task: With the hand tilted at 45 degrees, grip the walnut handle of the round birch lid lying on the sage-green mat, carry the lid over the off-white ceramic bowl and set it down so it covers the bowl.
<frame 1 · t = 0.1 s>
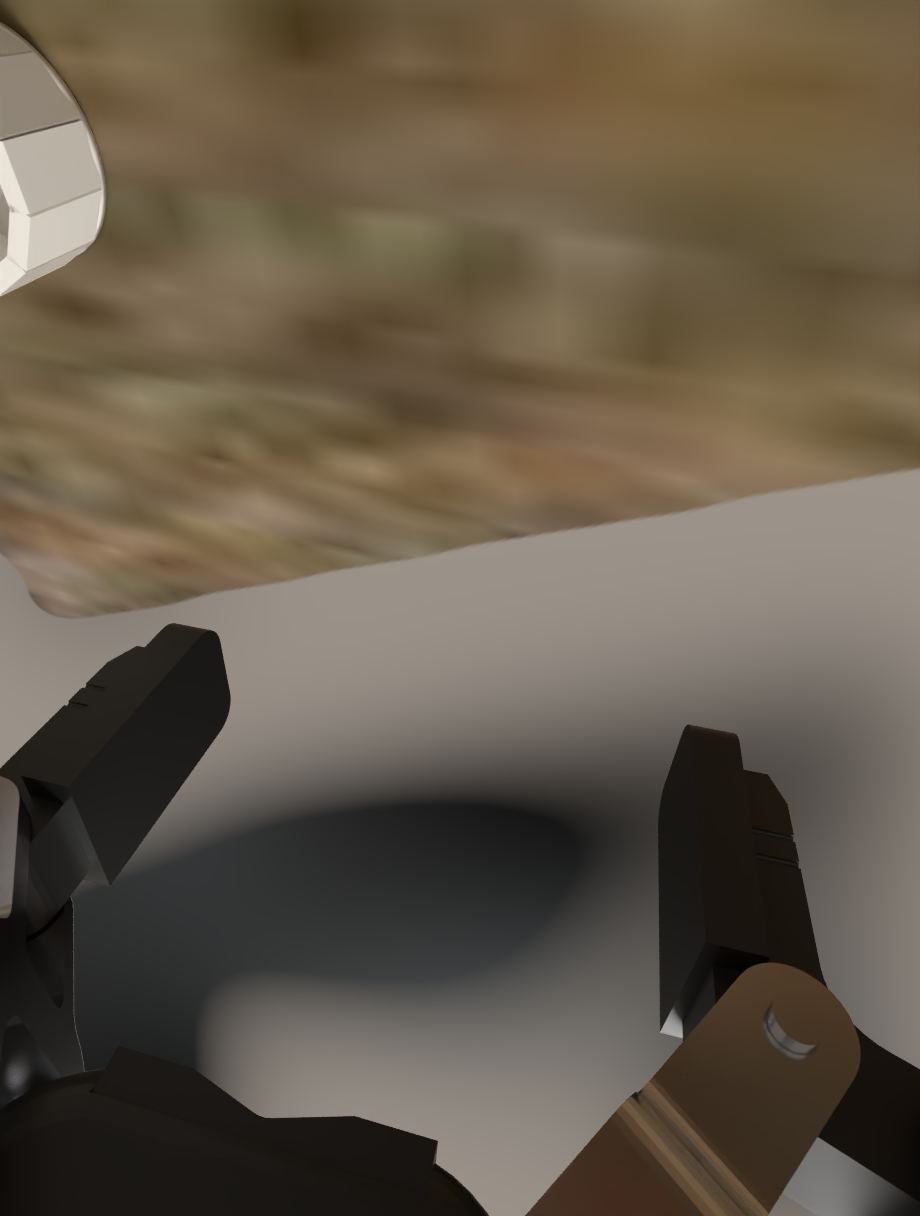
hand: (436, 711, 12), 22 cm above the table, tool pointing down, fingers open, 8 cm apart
bowl: (5, 146, 29), on the table
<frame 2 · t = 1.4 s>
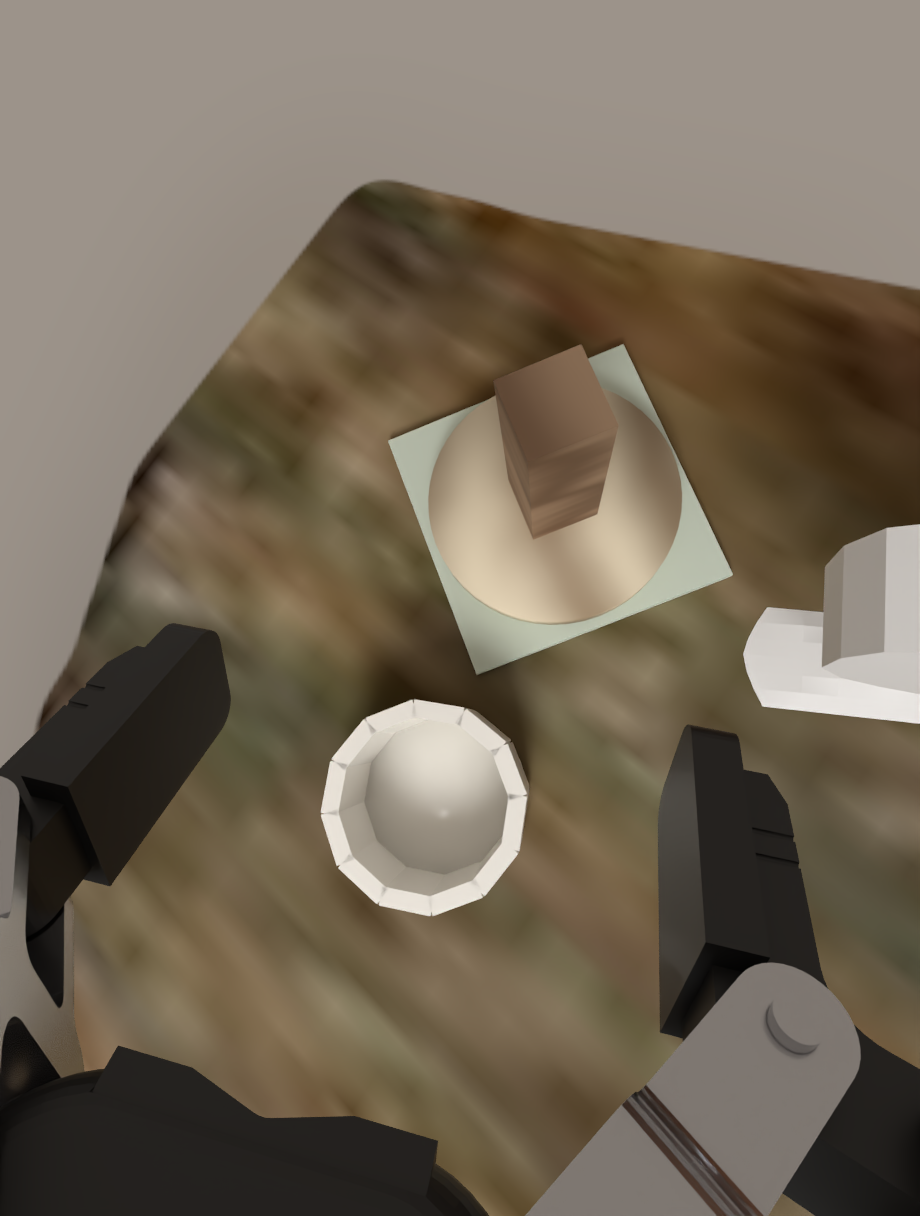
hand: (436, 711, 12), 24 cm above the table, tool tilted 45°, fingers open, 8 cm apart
mat: (551, 507, 37), on the table
bowl: (439, 794, 35), on the table
heart sculpture: (886, 668, 34), on the table
lid: (552, 504, 37), resting on mat
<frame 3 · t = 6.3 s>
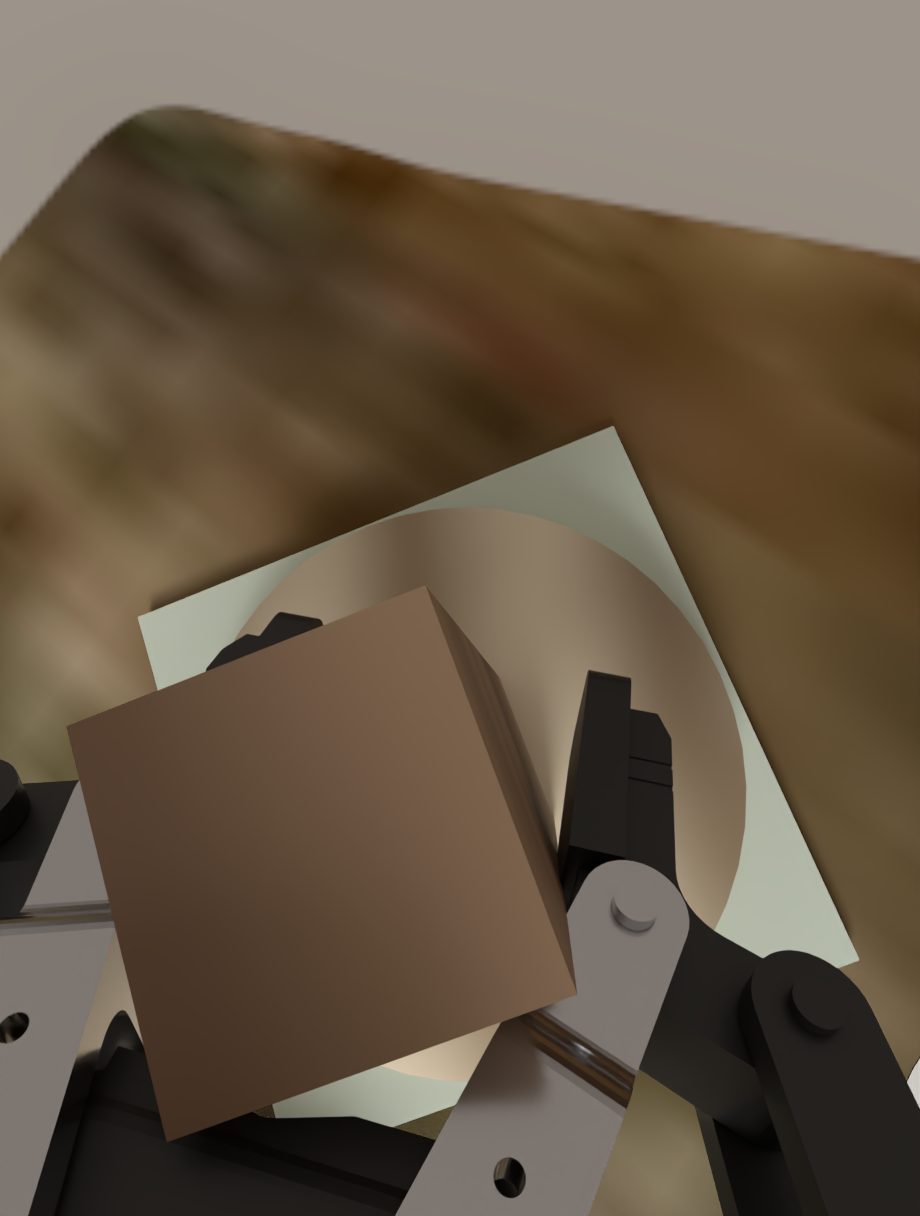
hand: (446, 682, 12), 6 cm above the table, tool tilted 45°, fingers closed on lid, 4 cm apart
mat: (463, 769, 18), on the table
lid: (462, 771, 17), resting on mat, touching gripper
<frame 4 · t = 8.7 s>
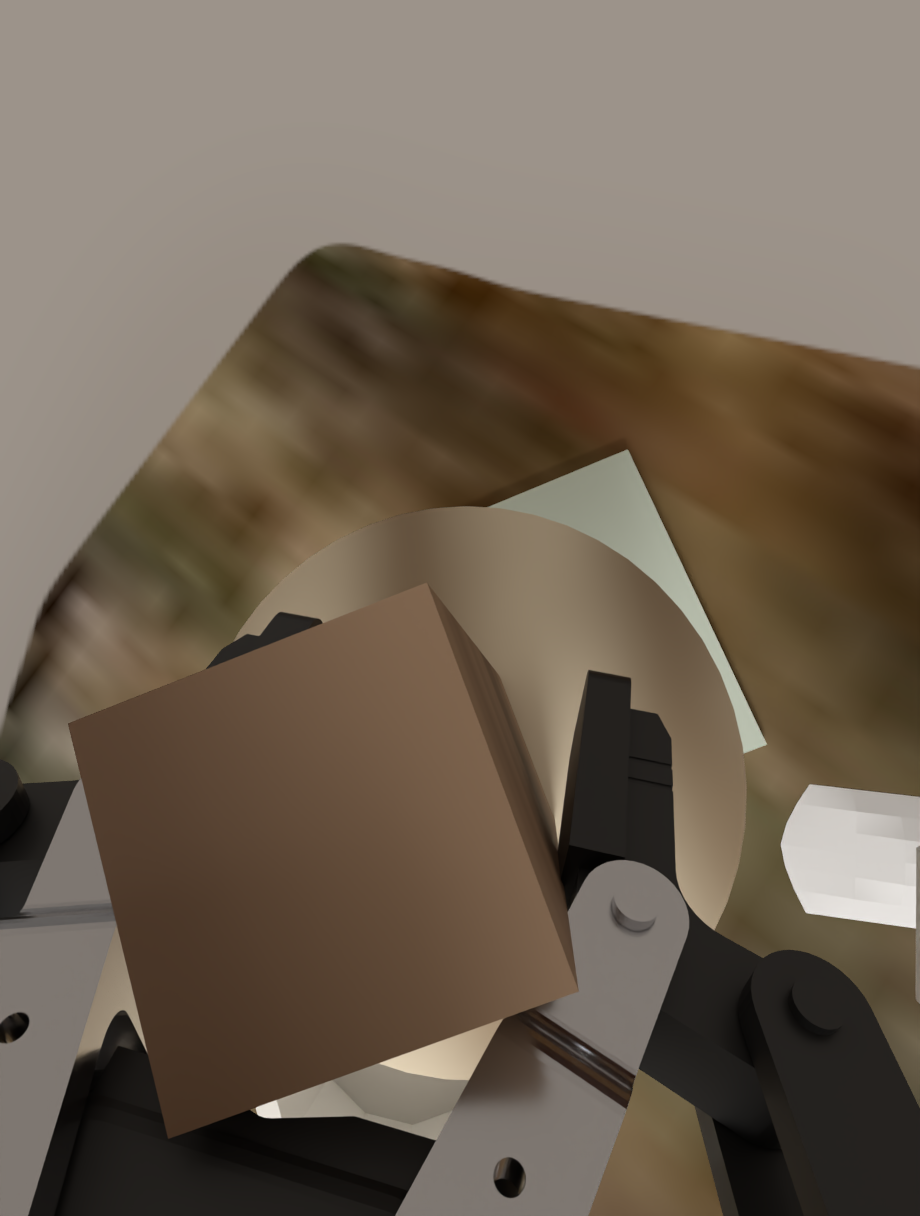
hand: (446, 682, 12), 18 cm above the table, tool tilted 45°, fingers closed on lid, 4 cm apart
mat: (542, 651, 30), on the table
bowl: (406, 1015, 29), on the table
lid: (462, 769, 17), point 13 cm above the table, touching gripper
when the fingers open (12 cm above the table, at t = 11.5 s): lid drops 1 cm, resting on bowl.
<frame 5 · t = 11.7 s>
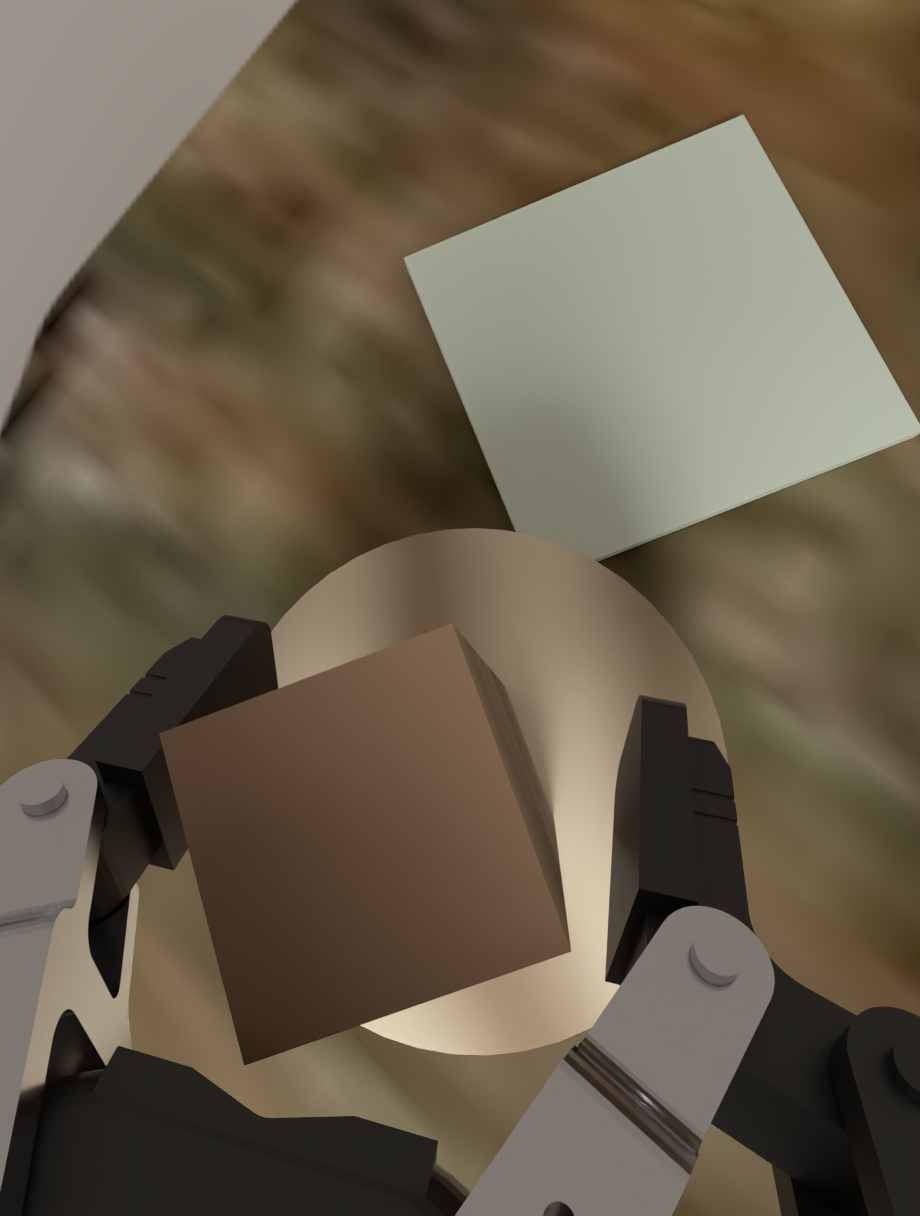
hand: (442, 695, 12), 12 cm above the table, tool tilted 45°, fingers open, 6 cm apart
mat: (643, 345, 26), on the table
lid: (469, 771, 19), point 5 cm above the table, touching bowl
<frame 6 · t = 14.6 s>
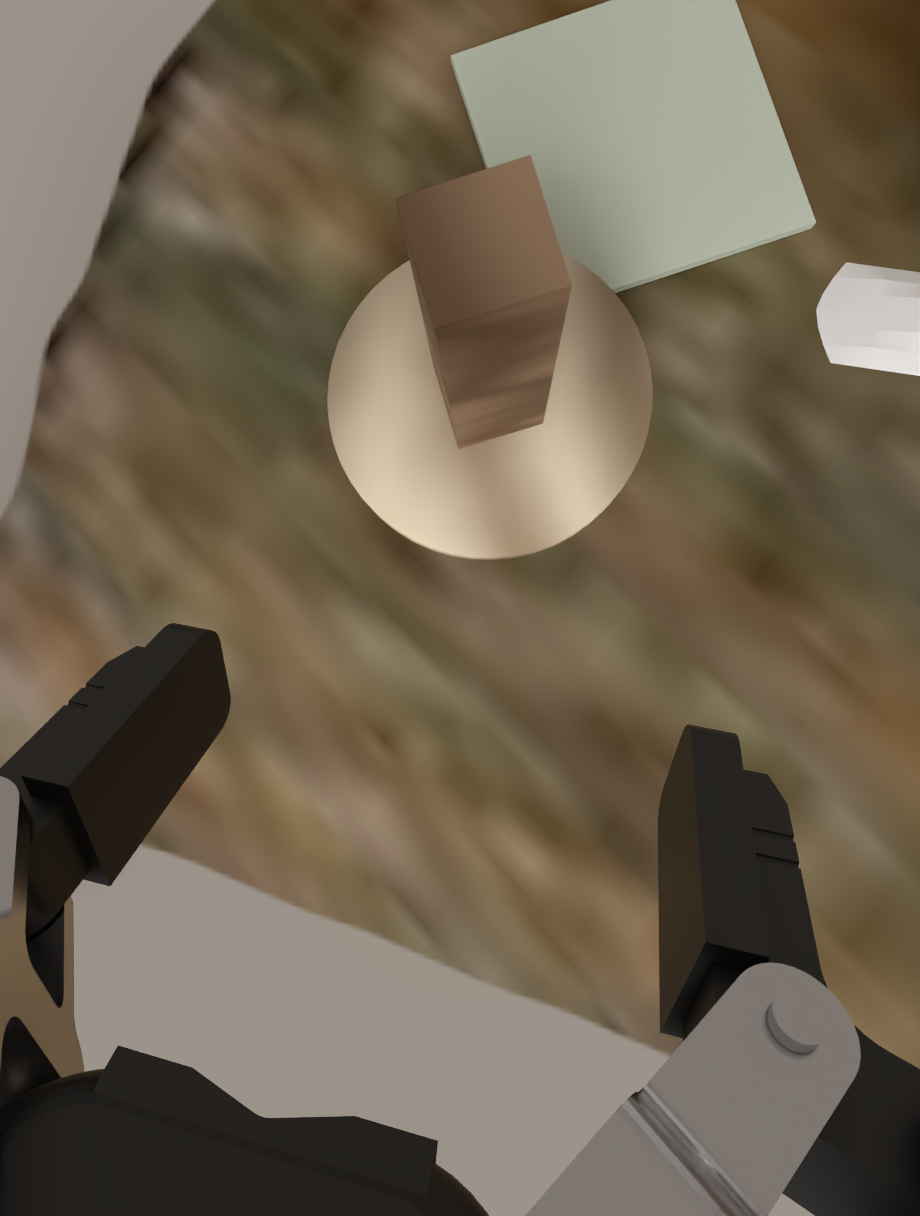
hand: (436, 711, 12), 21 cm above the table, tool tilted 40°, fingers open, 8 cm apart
mat: (627, 144, 34), on the table
lid: (488, 405, 29), point 5 cm above the table, touching bowl
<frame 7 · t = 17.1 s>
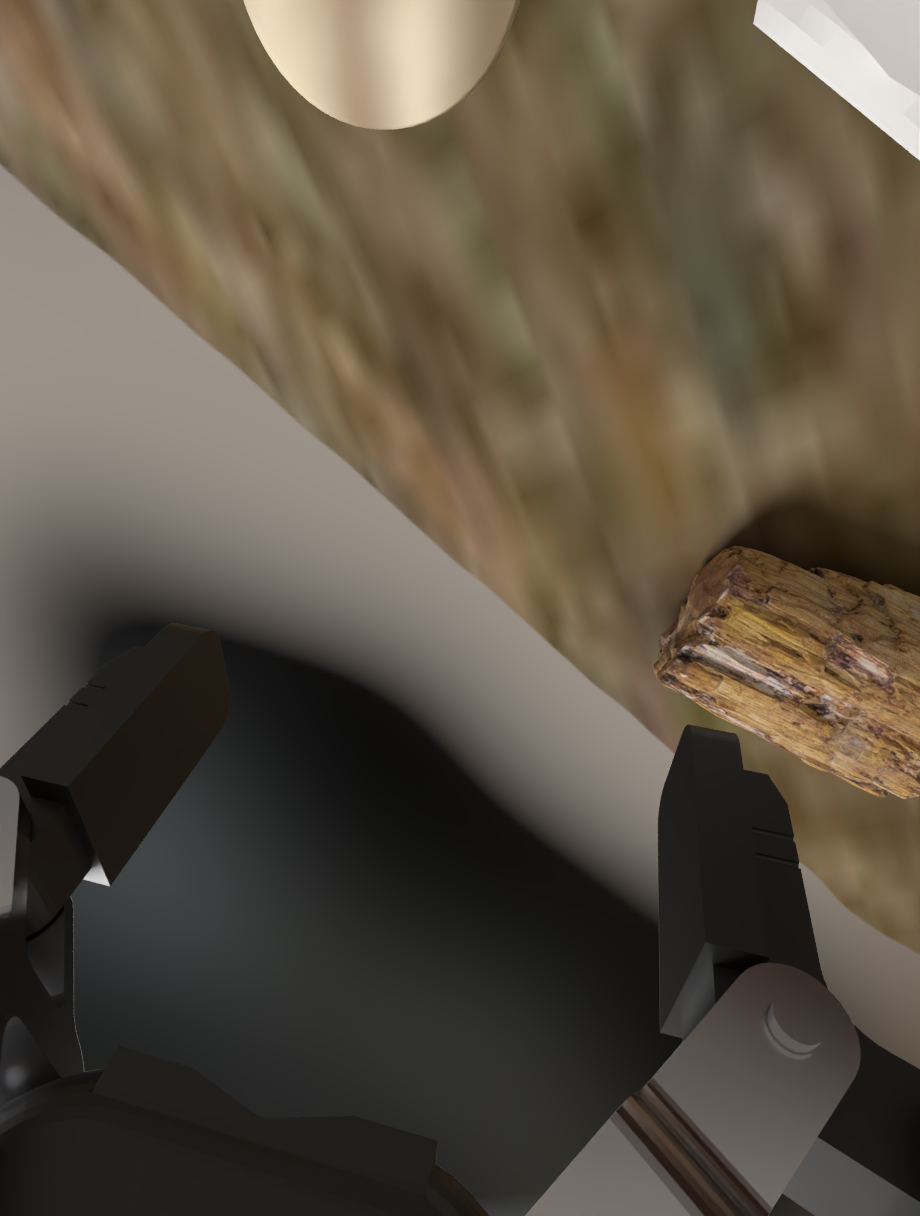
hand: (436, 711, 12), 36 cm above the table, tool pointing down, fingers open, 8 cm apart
heart sculpture: (890, 42, 32), on the table
petrified wood: (804, 621, 50), on the table
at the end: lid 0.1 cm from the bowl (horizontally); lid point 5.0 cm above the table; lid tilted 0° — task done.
